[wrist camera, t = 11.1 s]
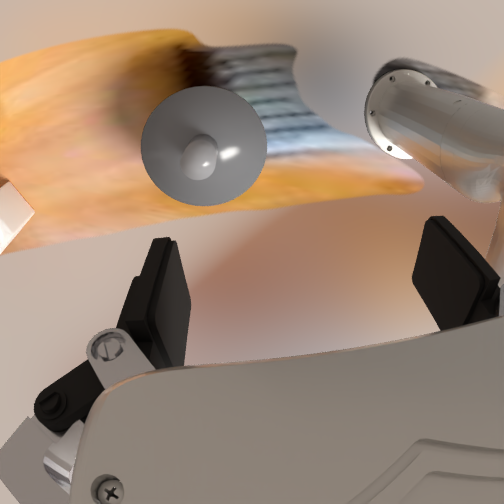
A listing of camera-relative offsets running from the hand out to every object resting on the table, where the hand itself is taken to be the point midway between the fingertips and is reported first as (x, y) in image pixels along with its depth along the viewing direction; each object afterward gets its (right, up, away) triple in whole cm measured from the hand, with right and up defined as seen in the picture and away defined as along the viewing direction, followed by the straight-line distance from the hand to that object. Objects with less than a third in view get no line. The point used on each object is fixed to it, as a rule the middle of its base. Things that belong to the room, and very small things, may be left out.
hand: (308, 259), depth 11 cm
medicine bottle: (-41, +8, +29) cm, 51 cm away
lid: (-7, +11, +21) cm, 25 cm away
